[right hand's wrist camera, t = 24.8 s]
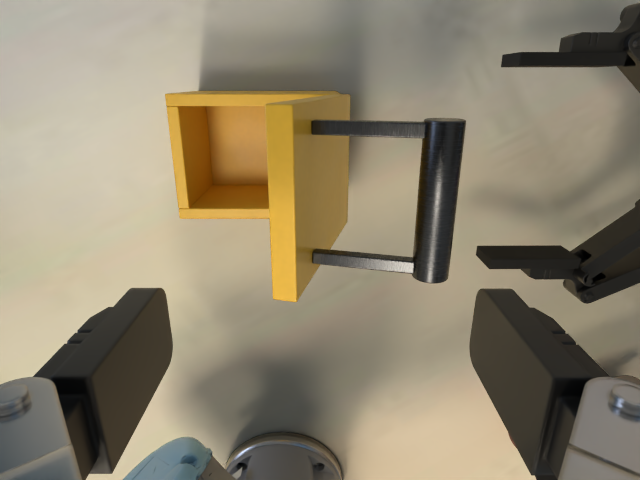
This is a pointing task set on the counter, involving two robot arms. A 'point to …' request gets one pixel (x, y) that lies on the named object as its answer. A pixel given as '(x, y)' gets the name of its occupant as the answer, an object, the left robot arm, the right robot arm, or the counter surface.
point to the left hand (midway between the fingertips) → (494, 166)
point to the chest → (223, 151)
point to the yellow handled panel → (332, 190)
